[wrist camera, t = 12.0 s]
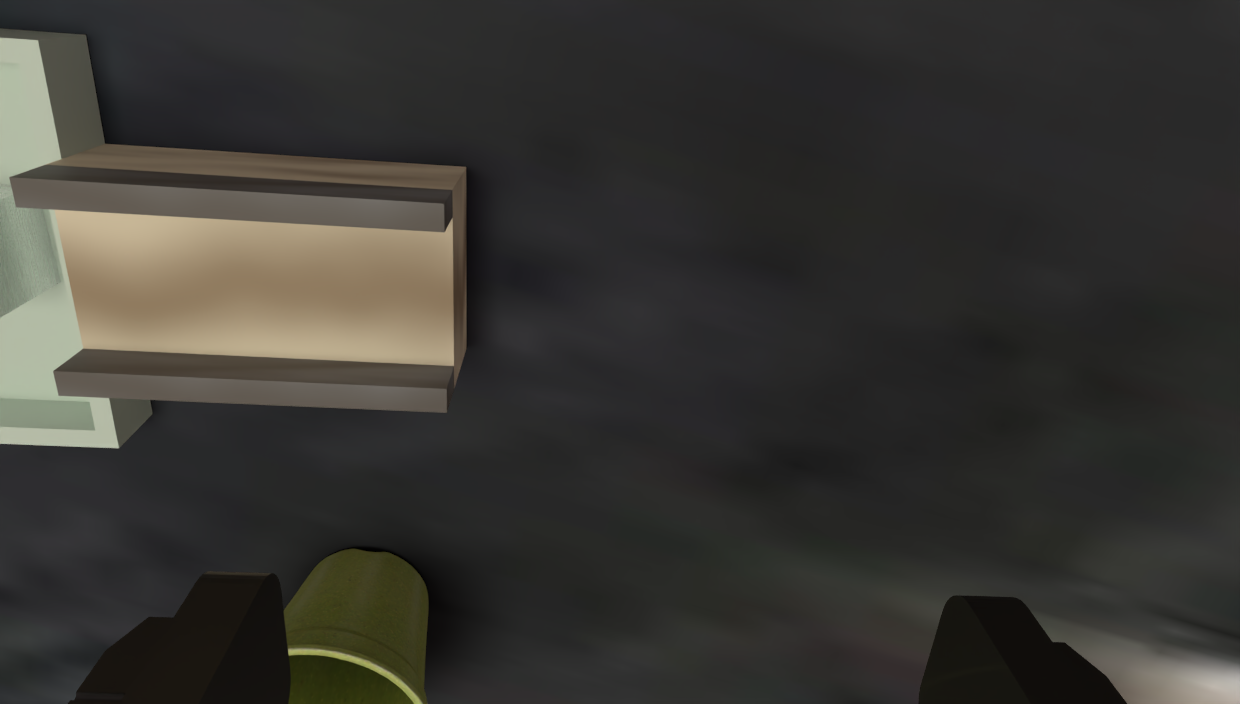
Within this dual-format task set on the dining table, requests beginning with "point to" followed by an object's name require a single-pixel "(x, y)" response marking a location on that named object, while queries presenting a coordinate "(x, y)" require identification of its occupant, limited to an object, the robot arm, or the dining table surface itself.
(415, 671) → the plant pot
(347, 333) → the slot board
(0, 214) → the light grey cube
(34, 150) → the tray
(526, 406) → the dining table surface
